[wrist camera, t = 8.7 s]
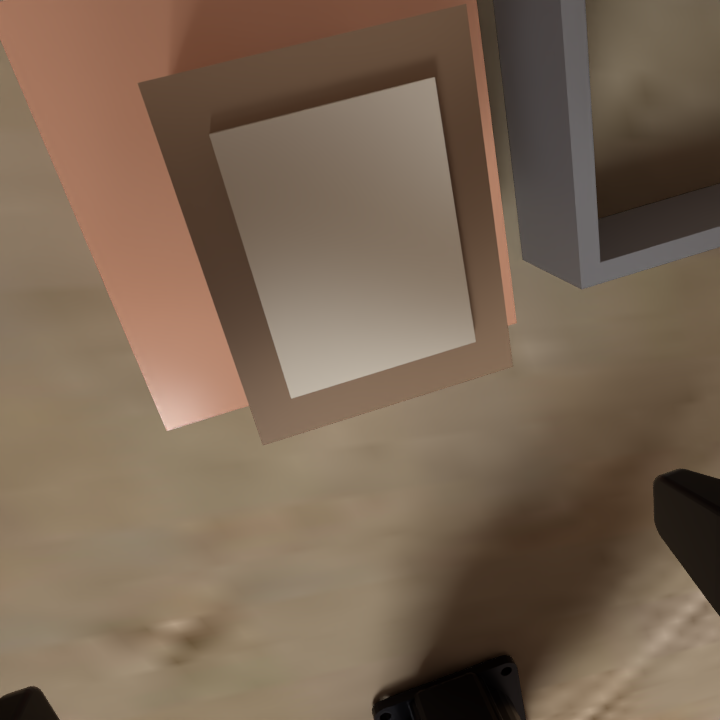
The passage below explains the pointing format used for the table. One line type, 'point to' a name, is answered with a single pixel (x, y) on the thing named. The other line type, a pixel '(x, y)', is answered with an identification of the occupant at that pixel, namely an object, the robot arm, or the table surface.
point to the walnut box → (341, 217)
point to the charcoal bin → (578, 159)
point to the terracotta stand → (146, 163)
